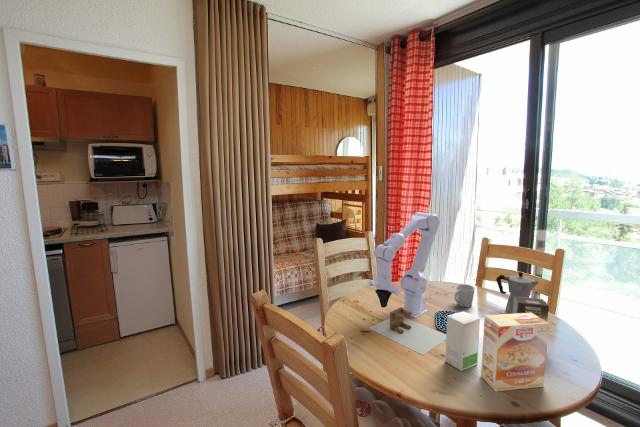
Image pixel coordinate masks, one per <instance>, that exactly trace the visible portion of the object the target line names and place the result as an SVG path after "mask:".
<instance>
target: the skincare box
mask: <svg viewBox="0 0 640 427" xmlns="http://www.w3.org/2000/svg"><path fill="white" fill-rule="evenodd" d="M480 320H481V317H478V316H475V315H473V314H470V313H469V312H466V311H464V310H463V311H460V312H454V313H453V314H449V315H447V316H446V333H445V334H446V340H445V360H444V361H445V362H446V363H447V364H449V365H451V367H454V368H456V369H457V370H459V371H460V372H463V371H465V370H467V369H470V368H472V367H474V366H477V365H478V364H479V344H480V340H479V339H480V322H481V321H480Z"/></svg>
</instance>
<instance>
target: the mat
mask: <svg viewBox="0 0 640 427" xmlns="http://www.w3.org/2000/svg"><path fill="white" fill-rule="evenodd" d="M403 323H405V324H408V325H410V326H411V329H408V328H406V327H403V326H400V327H398V328H400V329H402V330H404V333H403V334H402V333H400V332H398V331H396V330H390V317H389V318H387V319H384V320H383V321H381V322H378V323H377V324H375V325H372V326H371V327H369V328H368V329H369V330H372V331H374V332H375V333H378V334H379V335H381V336H384V337H385V338H387V339H389V340H391V341H394V342H395V343H398V344H400V345H402V346H404V347H406V348H408V349H410V350H412V351H414V352H416V353H418V354H420V355H422V356H424V355H425V354H427V353H428V352H430V351H431V350H432V349H434V348H436V347H437V346H439V345H440V344H441V343H443V342H444V341H446V333H443V332H441V331H438V330H436V329H433V328H431V327H429V326H426V325H424V324H421V323H419V322H417V321H415V320H412V319H409V318H407V317H405V316H404V319H403Z"/></svg>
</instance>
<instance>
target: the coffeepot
mask: <svg viewBox="0 0 640 427" xmlns="http://www.w3.org/2000/svg"><path fill="white" fill-rule="evenodd" d="M517 274H518V275H505V274H504V275H503V274H500V275H498V276H497V277H496V283H497V286H498V288H499V289H498V290H499V292H500V294H503V295H505V294H507V291H504V287H503V284H502V281H503V280H505V281H507V285H508V293H510V294H509V297H508V299H507V303H506V307H505V311H506V312H507V314H513V303H514V296H520V297H528V298H530V297H529V296H531V294H532V290H533V289H534V288H535V287H536V286H537V285H538V284H540V282H539V280H538V281H537V280H535V279H532V278H530V277H527V276H523V274H524V272H523V271H519V272H518V273H517ZM501 280H502V281H501Z"/></svg>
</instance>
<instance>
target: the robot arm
mask: <svg viewBox="0 0 640 427" xmlns="http://www.w3.org/2000/svg"><path fill="white" fill-rule="evenodd" d="M439 219H440V218H439V216H438V214H436V213H428V212H421V211H416V212H414V214H412V215H411V216H410V220H409V221H408V222H407V223H406V225H405V226H404V227H403V228H402V229H401V230H400V231H399V232H393V233H392V234H391V235H390V237H389V238H388V239H386V240H385V241H384V242H383V244H378V245H377V246H376V247H375V249H374V251H373V255H374V257H375V261H376V280H374V279H371V280H368V286H372V287H375V288H376V289H375V294H376V295H377V297H378V300H379V303H380V307H381V308H386V307H388V302H389V299H390V297H391V296H392V294H395V296H399V295H401V289H400V288H399V287H397V286H395V285H393V284H392V264H393V263H392V260H394V258H395V256H396V253H397V251H398V250H400V249H401V248H402V246H404V244H405V243H406V239H407V238H408V237H410V235H411V236H412V234H413V233H414V232H415V231H416V230H418V231H419V232H420V235H421V238H420V240H419V243H418V246H417V249H416V252H415V256H414V258H413V261H412V265H411V268H410V269H408V270H407V271H405V272H404V275H403V276H402V277H401V280H400V287H401V288H402V291H403V293H404V295H403V308H404V310H407V311H409V312H411V313H412V314H411V316H410V315H408V316H409V317H412V318H417V317H419V316H422V315H424V314H426V313H427V312H428V310H427V308H426V305H427V304H426V303H427V297H426V294H425V292H426V290H427V289H426V288H427V281H428V279H427V277H426V276H425V274H424V272H425V270H426V267H427V263H428V261H429V257H430V254H431V250H432V248H433V245H434V241H435V239H436V236H437V232H438V229H439V225H440V223H441V222H440V220H439ZM404 315H406V314H405V313H404Z"/></svg>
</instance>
